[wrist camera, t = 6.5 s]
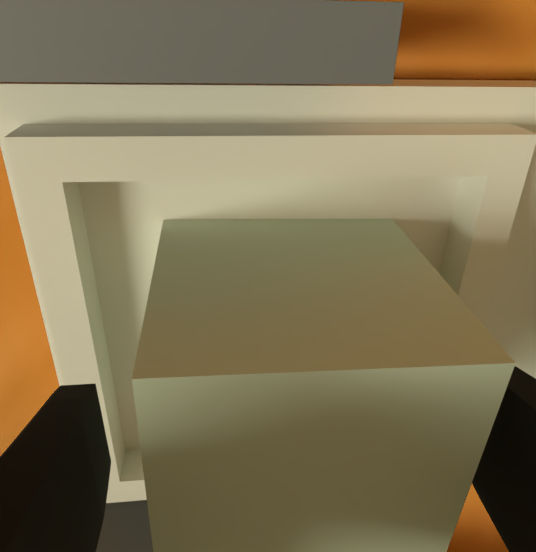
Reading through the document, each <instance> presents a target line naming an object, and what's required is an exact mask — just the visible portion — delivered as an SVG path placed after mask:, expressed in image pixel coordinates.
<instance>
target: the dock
mask: <svg viewBox="0 0 536 552" xmlns="http://www.w3.org/2000/svg"><path fill="white" fill-rule="evenodd" d="M403 6H404V2H374V1H334V0H0V82H100V83H248V84H393V79H394V71H395V64H396V57H397V50H398V42H399V35H400V28H401V20H402V13H403ZM96 552H153V545H152V537H151V529H150V521H149V513H148V505H147V500H139V501H127V502H115V503H106V506H105V513H104V520H103V524H102V528H101V532H100V536H99V540H98V545H97V549H96Z"/></svg>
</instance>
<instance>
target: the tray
mask: <svg viewBox="0 0 536 552" xmlns="http://www.w3.org/2000/svg"><path fill="white" fill-rule="evenodd" d="M0 146H1V150H2V154H3V159H4V163H5V167H6V171H7V175H8V179H9V183H10V187H11V191H12V195H13V199H14V203H15V207H16V211H17V215H18V219H19V223H20V227H21V231H22V235H23V239H24V243H25V247H26V252H27V256H28V260H29V264H30V268H31V272H32V276H33V280H34V284H35V288H36V292H37V296H38V300H39V304H40V308H41V312H42V316H43V320H44V324H45V328H46V332H47V336H48V340H49V345H50V349H51V353H52V357H53V361H54V365H55V369H56V373H57V377H58V381H59V385H60V386H61V385H79V384H96V388H97V393H98V398H99V403H100V408H101V413H102V418H103V423H104V428H105V433H106V438H107V443H108V448H109V453H110V458H111V468H110V476H109V484H108V492H107V499H106V503H115V502H127V501H139V500H147V497H146V489H145V481H144V473H143V465H142V457H141V449H140V441H139V433H138V425H137V417H136V409H135V401H134V393H133V385H132V375H133V370H134V365H135V360H136V355H137V350H138V345H139V340H140V335H141V330H142V325H143V320H144V315H145V310H146V305H147V300H148V295H149V290H150V285H151V279H152V274H153V269H154V264H155V259H156V254H157V249H158V244H159V239H160V234H161V229H162V224H163V220H199V219H393V220H394V221H395V223H396V224H397V225H398V226H399V227H400V228H401V230H402V231H403V232H404V233H405V234H406V235H407V237H408V238H409V239H410V240H411V241H412V242H413V244H414V245H415V246H416V247H417V248H418V249H419V251H420V252H421V253H422V254H423V255H424V256H425V258H426V259H427V260H428V261H429V262H430V263H431V265H432V266H433V267H434V268H435V269H436V270H437V272H438V273H439V274H440V275H441V276H442V277H443V279H444V280H445V281H446V282H447V283H448V284H449V286H450V287H451V288H452V289H453V290H454V292H455V293H456V294H457V295H458V296H459V297H460V299H461V300H462V301H463V302H464V303H465V304H466V306H467V307H468V308H469V309H470V310H471V311H472V313H473V314H474V315H475V316H476V317H477V318H478V320H479V321H480V322H481V323H482V324H483V325H484V327H485V328H486V329H487V330H488V331H489V332H490V334H491V335H492V336H493V337H494V338H495V339H496V341H497V342H498V343H499V344H500V345H501V346H502V348H503V349H504V350H505V351H506V352H507V353H508V355H509V356H510V357H511V358H512V359H513V360H514V362H515V363H516V364H515V366H516V367H518V368H519V369H521V370H523V371H524V372H526V373H527V374H529V375H530V376H532V377H534V378H535V379H536V80H415V79H393V84H248V83H100V82H0Z"/></svg>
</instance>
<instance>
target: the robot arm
mask: <svg viewBox="0 0 536 552" xmlns="http://www.w3.org/2000/svg"><path fill="white" fill-rule="evenodd" d="M110 468H111V458H110V453H109V448H108V443H107V438H106V433H105V428H104V423H103V418H102V413H101V408H100V403H99V398H98V393H97V388H96V384H79V385H61V386H60V387H59V388H58V389H57V390H56V391H55V392H54V393H53V394H52V395H51V396H50V398H49V399H48V400H47V401H46V403H45V404H44V405H43V406H42V407H41V409H40V410H39V411H38V412H37V414H36V415H35V416H34V417H33V418H32V420H31V421H30V422H29V423H28V424H27V426H26V427H25V428H24V429H23V430H22V432H21V433H20V434H19V435H18V436H17V438H16V439H15V440H14V441H13V442H12V444H11V445H10V446H9V447H8V448H7V450H6V451H5V452H4V453H3V454H2V455H1V456H0V552H96V549H97V545H98V540H99V536H100V532H101V528H102V524H103V520H104V513H105V506H106V499H107V492H108V484H109V476H110ZM472 483H473V486H474V488H475V490H476V492H477V494H478V495H479V497H480V499H481V501H482V503H483V505H484V507H485V508H486V510H487V512H488V514H489V516H490V518H491V520H492V521H493V523H494V525H495V527H496V529H497V531H498V532H499V534H500V536H501V538H502V540H503V541H504V543H505V545H506V547H507V549H508V550H509V552H536V379H535V378H534V377H532V376H530V375H529V374H527V373H526V372H524V371H523V370H521V369H519V368H518V367H516V366H515V367H514V369H513V372H512V375H511V377H510V380H509V383H508V386H507V388H506V391H505V394H504V397H503V399H502V402H501V405H500V407H499V410H498V413H497V416H496V418H495V421H494V424H493V426H492V429H491V432H490V435H489V437H488V440H487V443H486V445H485V448H484V451H483V454H482V456H481V459H480V462H479V465H478V467H477V470H476V473H475V475H474V478H473V481H472Z"/></svg>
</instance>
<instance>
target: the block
mask: <svg viewBox="0 0 536 552" xmlns="http://www.w3.org/2000/svg"><path fill="white" fill-rule="evenodd" d="M515 364H516V363H515V362H514V360H513V359H512V358H511V357H510V356H509V355H508V353H507V352H506V351H505V350H504V349H503V348H502V346H501V345H500V344H499V343H498V342H497V341H496V339H495V338H494V337H493V336H492V335H491V334H490V332H489V331H488V330H487V329H486V328H485V327H484V325H483V324H482V323H481V322H480V321H479V320H478V318H477V317H476V316H475V315H474V314H473V313H472V311H471V310H470V309H469V308H468V307H467V306H466V304H465V303H464V302H463V301H462V300H461V299H460V297H459V296H458V295H457V294H456V293H455V292H454V290H453V289H452V288H451V287H450V286H449V284H448V283H447V282H446V281H445V280H444V279H443V277H442V276H441V275H440V274H439V273H438V272H437V270H436V269H435V268H434V267H433V266H432V265H431V263H430V262H429V261H428V260H427V259H426V258H425V256H424V255H423V254H422V253H421V252H420V251H419V249H418V248H417V247H416V246H415V245H414V244H413V242H412V241H411V240H410V239H409V238H408V237H407V235H406V234H405V233H404V232H403V231H402V230H401V228H400V227H399V226H398V225H397V224H396V223H395V221H394V220H393V219H199V220H163V224H162V229H161V234H160V239H159V244H158V249H157V254H156V259H155V264H154V269H153V274H152V279H151V285H150V290H149V295H148V300H147V305H146V310H145V315H144V320H143V325H142V330H141V335H140V340H139V345H138V350H137V355H136V360H135V365H134V370H133V375H132V385H133V393H134V401H135V409H136V417H137V425H138V433H139V441H140V449H141V457H142V465H143V473H144V481H145V489H146V497H147V505H148V513H149V521H150V529H151V537H152V545H153V552H447V549H448V546H449V543H450V541H451V538H452V535H453V533H454V530H455V527H456V524H457V522H458V519H459V516H460V514H461V511H462V508H463V505H464V503H465V500H466V497H467V494H468V492H469V489H470V486H471V484H472V481H473V478H474V475H475V473H476V470H477V467H478V465H479V462H480V459H481V456H482V454H483V451H484V448H485V445H486V443H487V440H488V437H489V435H490V432H491V429H492V426H493V424H494V421H495V418H496V416H497V413H498V410H499V407H500V405H501V402H502V399H503V397H504V394H505V391H506V388H507V386H508V383H509V380H510V377H511V375H512V372H513V369H514V367H515Z"/></svg>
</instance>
